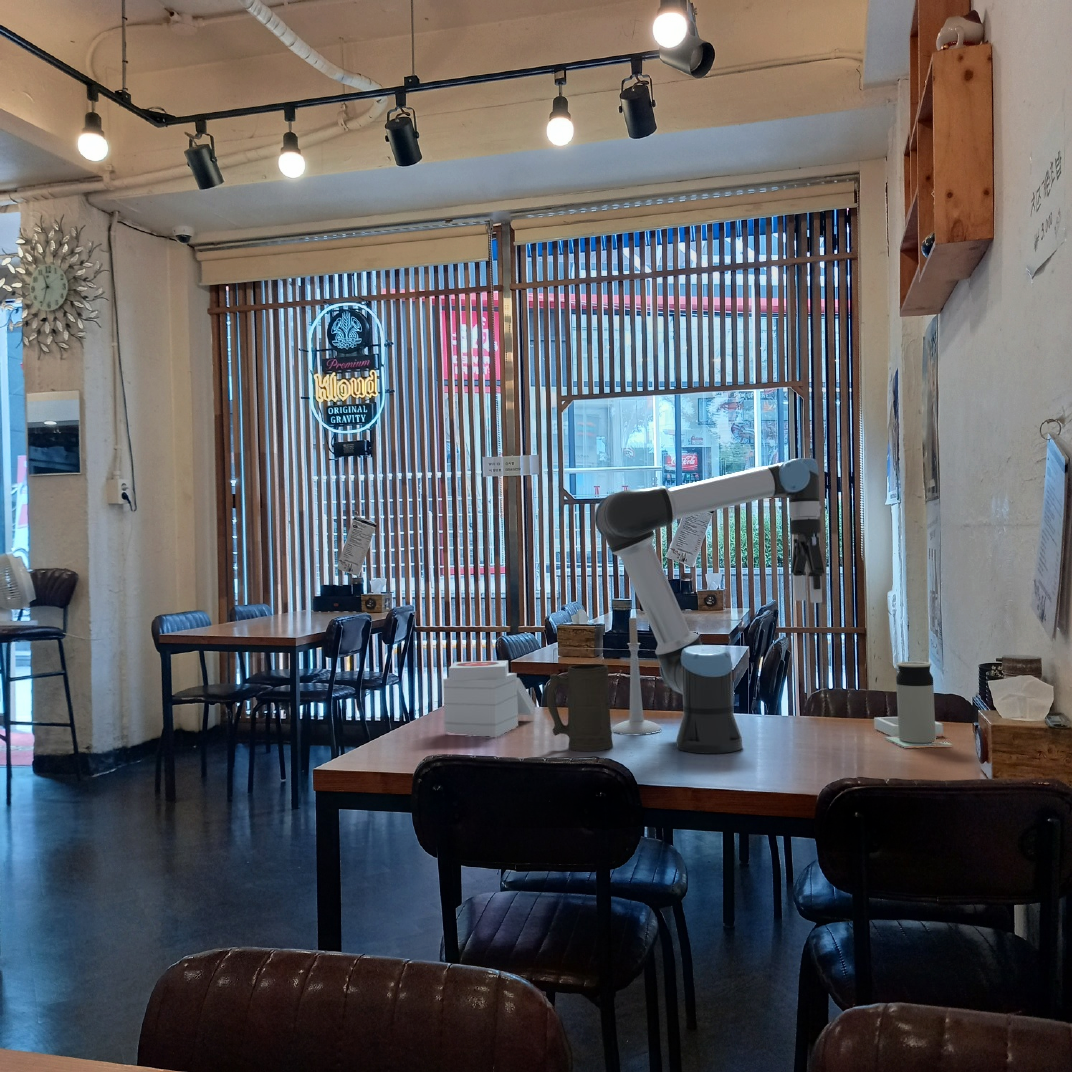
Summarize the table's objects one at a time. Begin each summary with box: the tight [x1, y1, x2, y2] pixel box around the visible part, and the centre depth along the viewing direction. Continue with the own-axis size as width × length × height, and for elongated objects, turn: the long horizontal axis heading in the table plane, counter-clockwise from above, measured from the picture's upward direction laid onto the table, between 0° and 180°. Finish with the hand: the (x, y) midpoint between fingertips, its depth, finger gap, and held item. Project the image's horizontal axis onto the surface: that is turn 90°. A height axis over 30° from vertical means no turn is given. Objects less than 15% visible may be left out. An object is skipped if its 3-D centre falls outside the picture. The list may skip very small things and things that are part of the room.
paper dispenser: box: [442, 659, 536, 738], centre depth 254 cm, size 19×30×18 cm, turn 158°
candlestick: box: [611, 617, 662, 735], centre depth 243 cm, size 13×13×30 cm
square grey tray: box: [873, 716, 944, 736], centre depth 227 cm, size 12×12×3 cm
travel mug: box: [895, 661, 937, 744], centre depth 215 cm, size 8×8×18 cm
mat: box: [884, 736, 953, 747], centre depth 215 cm, size 11×11×1 cm
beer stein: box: [546, 663, 614, 752], centre depth 222 cm, size 15×11×20 cm
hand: (808, 601), depth 237 cm, fingers open, 13 cm apart
